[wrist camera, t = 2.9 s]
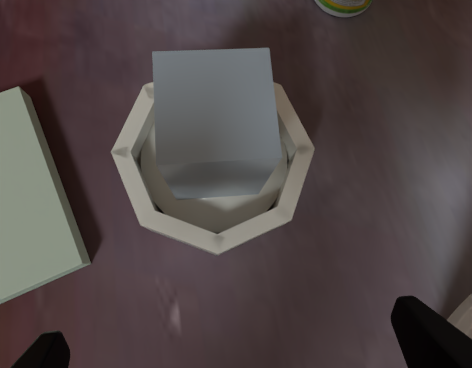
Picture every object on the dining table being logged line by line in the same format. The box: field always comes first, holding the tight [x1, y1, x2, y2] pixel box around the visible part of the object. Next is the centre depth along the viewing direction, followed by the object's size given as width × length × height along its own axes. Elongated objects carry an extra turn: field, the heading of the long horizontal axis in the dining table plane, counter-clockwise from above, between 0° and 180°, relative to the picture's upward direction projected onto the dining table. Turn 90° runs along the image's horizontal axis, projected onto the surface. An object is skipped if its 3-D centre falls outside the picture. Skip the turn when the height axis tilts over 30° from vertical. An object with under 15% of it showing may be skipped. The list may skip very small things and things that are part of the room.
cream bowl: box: [111, 82, 315, 256], centre depth 22 cm, size 11×11×4 cm
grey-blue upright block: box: [152, 48, 282, 200], centre depth 17 cm, size 5×5×8 cm
